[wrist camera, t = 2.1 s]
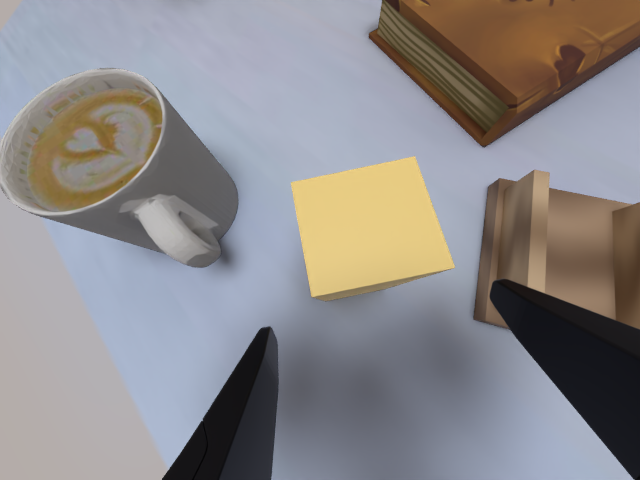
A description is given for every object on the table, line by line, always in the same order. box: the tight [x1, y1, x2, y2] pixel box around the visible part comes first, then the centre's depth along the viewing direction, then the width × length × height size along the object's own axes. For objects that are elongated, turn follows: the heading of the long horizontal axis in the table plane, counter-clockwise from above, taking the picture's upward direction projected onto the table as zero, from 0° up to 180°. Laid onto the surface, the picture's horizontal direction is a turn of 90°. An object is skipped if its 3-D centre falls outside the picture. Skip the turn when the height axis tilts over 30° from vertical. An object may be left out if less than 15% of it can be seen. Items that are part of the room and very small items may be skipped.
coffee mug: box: [0, 68, 238, 268], centre depth 17 cm, size 13×10×10 cm
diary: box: [369, 0, 640, 146], centre depth 24 cm, size 23×19×6 cm
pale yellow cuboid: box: [291, 156, 455, 301], centre depth 14 cm, size 4×5×12 cm
